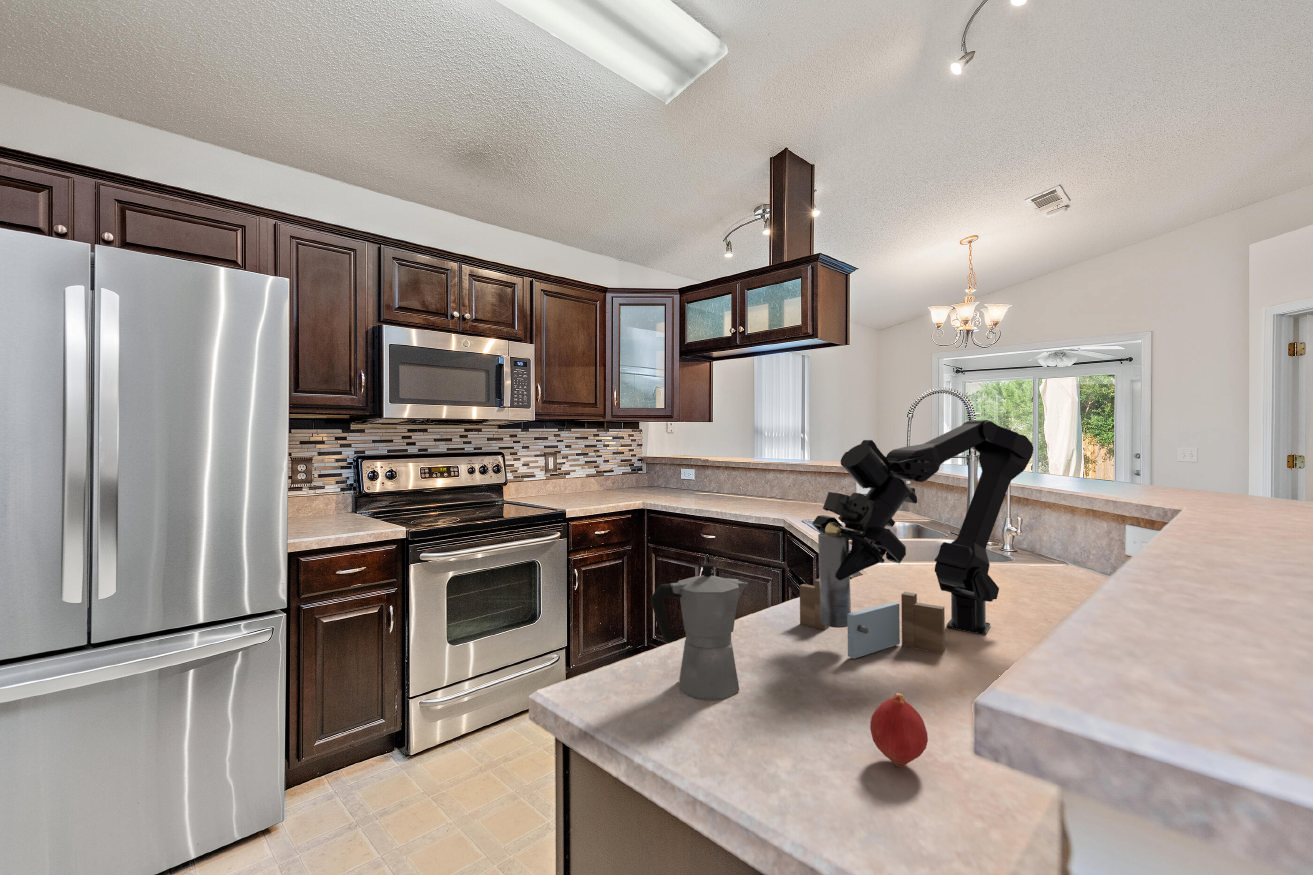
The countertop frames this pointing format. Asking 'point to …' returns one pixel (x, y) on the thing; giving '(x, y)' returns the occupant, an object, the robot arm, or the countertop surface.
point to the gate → (873, 629)
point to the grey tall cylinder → (833, 577)
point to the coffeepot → (704, 632)
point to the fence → (918, 619)
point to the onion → (898, 731)
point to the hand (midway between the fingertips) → (827, 574)
